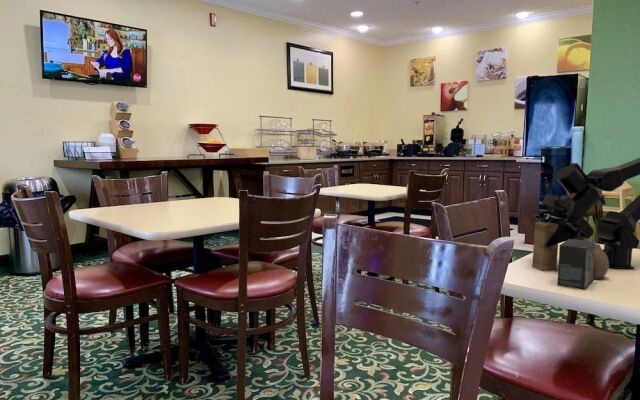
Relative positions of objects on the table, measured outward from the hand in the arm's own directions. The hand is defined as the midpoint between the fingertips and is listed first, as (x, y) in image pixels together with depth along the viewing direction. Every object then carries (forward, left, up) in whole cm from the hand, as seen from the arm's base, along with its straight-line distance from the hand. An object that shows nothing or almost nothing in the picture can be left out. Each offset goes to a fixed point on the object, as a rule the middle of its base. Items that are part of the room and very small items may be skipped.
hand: (541, 244), depth 130 cm
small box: (-2, +14, -7) cm, 16 cm away
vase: (-10, +8, -7) cm, 15 cm away
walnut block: (-1, 0, -7) cm, 7 cm away
